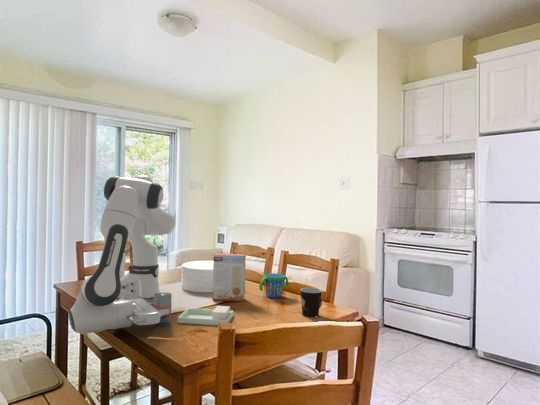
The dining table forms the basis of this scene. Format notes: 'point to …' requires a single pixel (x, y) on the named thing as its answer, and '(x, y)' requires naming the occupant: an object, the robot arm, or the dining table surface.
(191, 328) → the dining table surface
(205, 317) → the pale green tray
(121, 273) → the skincare box
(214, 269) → the cracker box
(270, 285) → the snack cup
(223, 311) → the white rectangular block
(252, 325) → the dining table surface
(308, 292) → the coffee mug
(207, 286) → the plate stack
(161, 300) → the tin
